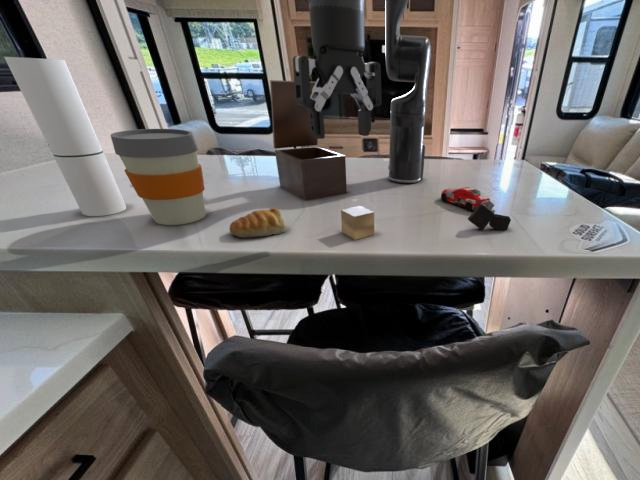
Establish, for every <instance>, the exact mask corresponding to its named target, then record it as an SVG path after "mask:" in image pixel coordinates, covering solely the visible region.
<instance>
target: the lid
mask: <svg viewBox="0 0 640 480" xmlns="http://www.w3.org/2000/svg"><path fill="white" fill-rule="evenodd" d="M315 83H316V81H310V96H311V94H312V89H313V87H314V85H315ZM269 84H270V85H269V87H270V102H271V103H270V104H271V105H270V106H271V122H272V124H271V125H272V137H273V138H272V140H273V141H272V144H273V148H274V150H278V149H290V148H301V147H313V146H318V141H319V140H318V138H315V136H314V134H312V132H311V128H310V117H309V111H308V109H307V108H306V107H303V106H301V105H298V104H297V103H296V101H295V88H294V80H279V79H278V80H275V79H270V80H269Z"/></svg>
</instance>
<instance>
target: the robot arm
mask: <svg viewBox="0 0 640 480" xmlns="http://www.w3.org/2000/svg"><path fill="white" fill-rule="evenodd" d="M307 1H308V11H309V22H310V35H311V45H312V48H313V49H312V50H313V57H312V58H309V57H307V56H306V55H294V56H293V57H292V70H293V81H294V88H295V101H296V103H297V104H298V105H301V106H303V107H306V108H307V109H308V111H309V117H310V128H311V132H312V134H314V136H315V138H318V139H320V140H321V139H323V140H324V139H325V137H326V134H325V132H326V131H325V119H324V112H323V111H322V109H323V108H324V107H325V104H326V101H327V100H328V99H329V98H330V97H331V95H332V94H337V95H338V94H339V95H340V94H347V95H350V97H352V98H353V100H354V101H355V103H356V104H357V106H358V108H359V109H358V110H357V126H358V127H357V129H358V130H357V131H358V132H357V133H358V135H359V136H363V137H368V136H369V135H370V132H371V131H372V110H373V109H374V108H377V107H381V106H382V102H383V100H382V99H383V98H382V97H383V95H382V69H381V68H382V67H381V66H382V65H381V63H380V62H379V61H367V62H365V60H364V56H363V55H364V50H365V46H366V45H365V0H307ZM384 1H385V5H384V6H385V7H384V8H385V42H384V43H385V45H384V46H385V48H384V49H385V52H384V53H385V54H384V55H385V69H386V74H387V78H388V79H389V80H390V81H393V82H403V83H404V82H405V83H414V86H413V88H412V89H411V90H410V91H409V92H407V93H405V94H403V95H401V96H398V97H395V98H392V100H391V101H390V114H389V115H390V117H389V154H388V155H389V156H388V157H389V159H388V180H389V181H391V182H394V183H398V184H416V183H419V182H420V181H421V180H423V179H424V168H425V155H426V144H425V143H424V136H425V135H424V134H425V121H426V108H427V93H428V83H429V76H430V75H429V74H430V67H431V58H432V45H431V41H430V39H429V37H427V36H424V35H404V34H403V35H402V34H401V23H402V19H403V17H404V12H405V10H406V7H407V5H408V2H409V1H410V0H384ZM313 71H314V73H315V74H316V76H317V79H316V81H315V82H316V83H315V85H314V87H313V89H312V94H311V96H310V82H311V80H310V79H311V78H310V76H311V75H312V73H313ZM363 77H365V80H366V81H365V82H366V83H365V84H366V86H365V84H364V82H363V80H362V78H363Z"/></svg>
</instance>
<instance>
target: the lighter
mask: <svg viewBox="0 0 640 480" xmlns="http://www.w3.org/2000/svg"><path fill="white" fill-rule="evenodd" d="M485 205H486V206H485ZM485 205H484V204H482V203H480V204H479V205H478V207H477V208H476V209H475V210H473V212H471V214H470V215H469V216H468V217H467V220H468V221H469V223H471V224H473V226H476V227H477V228H478V229H480V230H481V231H484V229H485V228H486V227H487V226H488V225H489V227H490V228H491V229H494V230H496V231H507V230H508V229H509V226H510V224H511V221H512V219H511V217H510V216H508V215H502V214H498V213H496V210H495V209H493V208H494V207H495V204H494V203H493V202H492V201H490V202H489V201H487V202H486V203H485Z"/></svg>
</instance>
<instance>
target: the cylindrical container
mask: <svg viewBox="0 0 640 480" xmlns="http://www.w3.org/2000/svg"><path fill="white" fill-rule="evenodd" d="M3 58H4V60H5V62H6V64H7V66H8V68H9V70H10V72H11V74H12V76H13V78H14V80H15V82H16V84H17V86H18V88H19V90H20V92H21V94H22V96H23V98H24V100H25V102H26V104H27V107H28V108H29V110H30V112H31V114H32V116H33V118H34V120H35V122H36V124H37V126H38V128H39V130H40V132H41V134H42V136H43V138H44V140H45V142H46V144H47V146H48V148H49V150H50V152H51V155H52V156H53V158H54V160H55V163H56V164H57V166H58V168H59V170H60V172H61V174H62V176H63V178H64V180H65V182H66V183H67V186H68V188H69V190H70V193H71V194H72V196H73V197H74V198H73V199H74V200H75V202H76V204H77V206H78V208H79V210H80V212H81V214H82V215H83V216H87V217H103V216H110V215H114V214H115V215H116V214H118V213H121V212H123V211H125V210H127V205H126V203H125V200H124V198H123V196H122V193H121V191H120V189H119V186H118V183H117V181H116V179H115V177H114V174H113V172H112V170H111V166H110V164H109V162H108V160H107V158H106V155H105V153H104V150H103V148H102V145H101V143H100V140H99V139H98V136H97V134H96V131H95V129H94V127H93V124H92V122H91V120H90V119H91V118H90V117H89V115H88V112H87V110H86V108H85V105H84V102H83V99H81V95H80V93H79V90H78V88H77V86H76V83H75V80H74V79H73V76H72V74H71V71H70V70H69V67H68V64H67V62H66V60H65V59H57V58H56V59H55V58H36V57H15V56H4V57H3Z"/></svg>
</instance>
